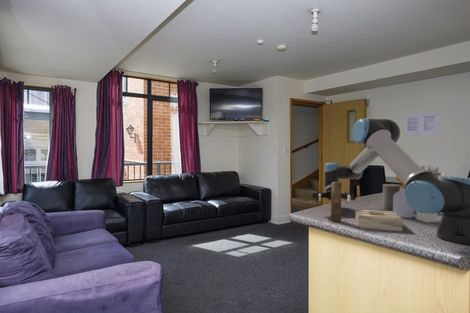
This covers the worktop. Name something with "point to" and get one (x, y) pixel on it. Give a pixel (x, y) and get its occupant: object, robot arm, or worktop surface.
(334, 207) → the peg
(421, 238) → the worktop surface
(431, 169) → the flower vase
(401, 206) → the soap bottle
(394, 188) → the pillar candle
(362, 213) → the socket block
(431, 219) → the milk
